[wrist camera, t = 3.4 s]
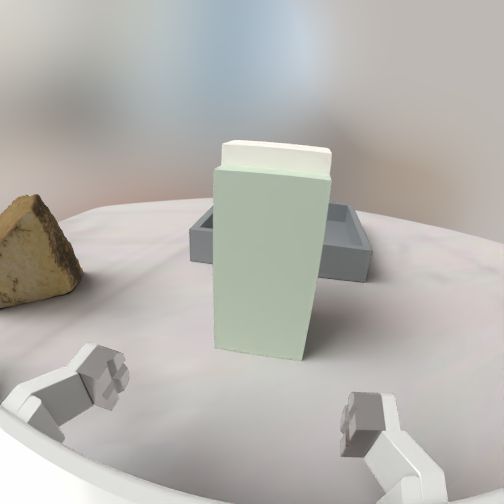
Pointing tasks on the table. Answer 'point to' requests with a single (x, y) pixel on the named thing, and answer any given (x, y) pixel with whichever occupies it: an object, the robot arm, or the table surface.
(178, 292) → the table surface
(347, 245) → the tray
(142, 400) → the table surface
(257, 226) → the juice carton
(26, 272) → the rock
